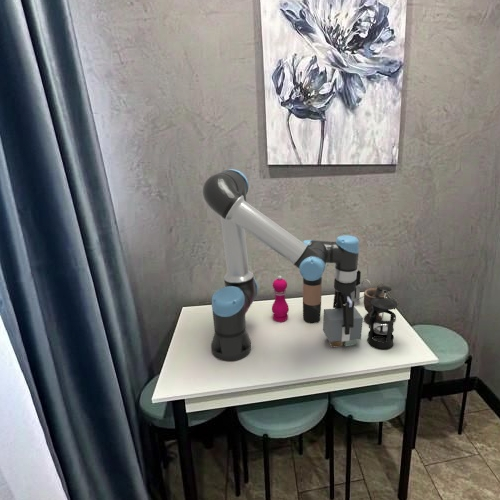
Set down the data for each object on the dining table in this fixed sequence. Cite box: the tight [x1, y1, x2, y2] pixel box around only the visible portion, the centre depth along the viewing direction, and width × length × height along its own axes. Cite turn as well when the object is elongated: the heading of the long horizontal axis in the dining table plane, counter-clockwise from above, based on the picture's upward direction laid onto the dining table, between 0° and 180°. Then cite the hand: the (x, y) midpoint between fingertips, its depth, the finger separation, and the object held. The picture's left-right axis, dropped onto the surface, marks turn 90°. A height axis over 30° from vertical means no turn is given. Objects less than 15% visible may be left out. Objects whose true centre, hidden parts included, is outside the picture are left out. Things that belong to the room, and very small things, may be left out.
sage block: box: [342, 340, 357, 347], centre depth 135 cm, size 4×4×4 cm
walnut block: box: [328, 341, 343, 348], centre depth 134 cm, size 4×4×4 cm
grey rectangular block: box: [322, 306, 364, 342], centre depth 132 cm, size 12×8×9 cm, turn 95°
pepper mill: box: [271, 275, 290, 323], centre depth 150 cm, size 7×7×20 cm
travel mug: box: [302, 276, 323, 324], centre depth 148 cm, size 8×8×20 cm
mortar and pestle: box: [363, 283, 387, 324], centre depth 144 cm, size 12×9×20 cm
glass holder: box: [344, 269, 372, 307], centre depth 160 cm, size 9×14×15 cm, turn 40°
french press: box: [366, 285, 398, 351], centre depth 131 cm, size 12×9×23 cm
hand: (341, 333), depth 134 cm, fingers closed on grey rectangular block, 8 cm apart
